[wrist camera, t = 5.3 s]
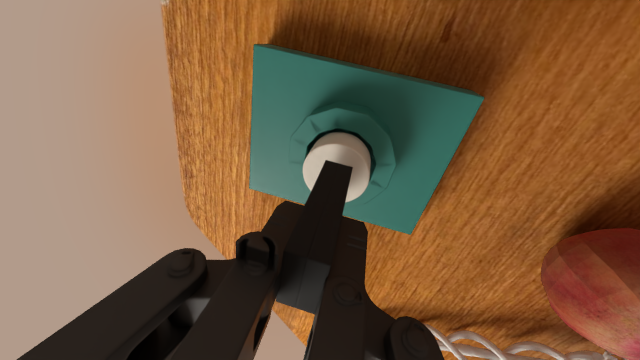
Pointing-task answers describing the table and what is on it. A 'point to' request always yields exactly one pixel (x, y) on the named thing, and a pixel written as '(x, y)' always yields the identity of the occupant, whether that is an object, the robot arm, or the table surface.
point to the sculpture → (507, 356)
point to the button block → (354, 129)
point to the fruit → (598, 287)
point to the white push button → (340, 161)
